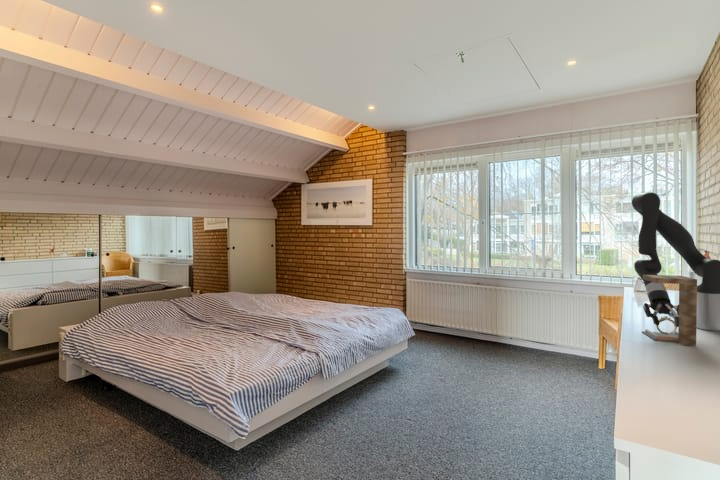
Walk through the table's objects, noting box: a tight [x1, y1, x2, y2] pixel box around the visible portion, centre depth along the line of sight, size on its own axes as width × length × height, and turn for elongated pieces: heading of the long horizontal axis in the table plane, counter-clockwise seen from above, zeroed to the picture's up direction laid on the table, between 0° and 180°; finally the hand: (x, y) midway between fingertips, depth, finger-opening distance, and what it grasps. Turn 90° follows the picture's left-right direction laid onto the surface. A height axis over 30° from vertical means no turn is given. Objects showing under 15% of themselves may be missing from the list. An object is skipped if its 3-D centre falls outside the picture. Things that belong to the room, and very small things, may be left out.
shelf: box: [643, 274, 698, 347], centre depth 165 cm, size 14×14×27 cm
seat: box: [641, 328, 679, 343], centre depth 170 cm, size 14×14×2 cm
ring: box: [655, 315, 678, 335], centre depth 170 cm, size 7×3×8 cm, turn 50°
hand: (668, 325), depth 169 cm, fingers closed on ring, 7 cm apart
